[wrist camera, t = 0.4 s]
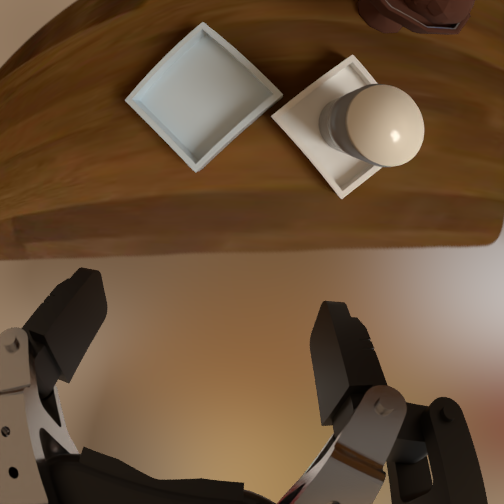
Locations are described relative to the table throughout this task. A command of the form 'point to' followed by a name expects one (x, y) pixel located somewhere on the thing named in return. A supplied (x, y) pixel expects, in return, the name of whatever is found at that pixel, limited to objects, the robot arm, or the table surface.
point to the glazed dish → (202, 96)
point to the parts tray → (307, 126)
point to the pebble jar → (374, 125)
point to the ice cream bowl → (416, 15)
